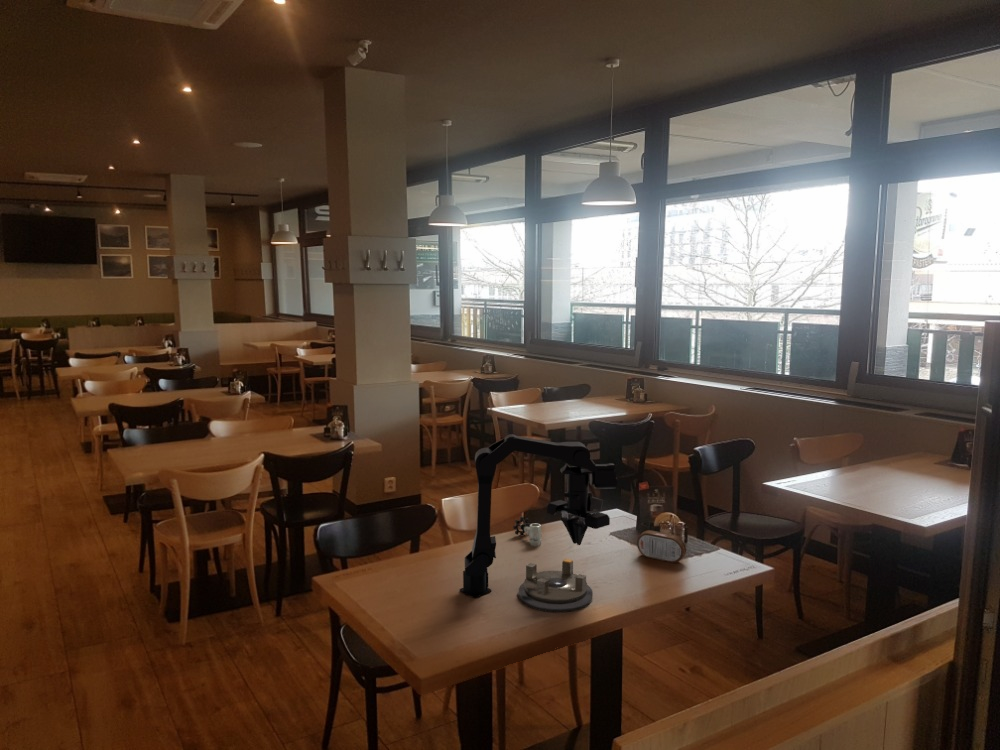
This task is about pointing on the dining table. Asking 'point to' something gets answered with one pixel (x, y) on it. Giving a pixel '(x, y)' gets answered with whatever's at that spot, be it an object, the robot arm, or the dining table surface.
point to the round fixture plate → (555, 584)
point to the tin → (661, 546)
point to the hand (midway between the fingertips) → (577, 544)
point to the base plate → (555, 607)
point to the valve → (529, 531)
